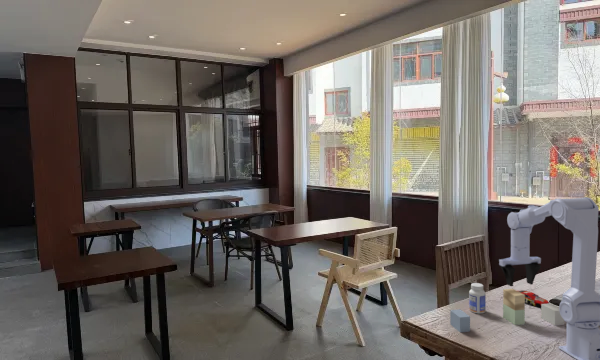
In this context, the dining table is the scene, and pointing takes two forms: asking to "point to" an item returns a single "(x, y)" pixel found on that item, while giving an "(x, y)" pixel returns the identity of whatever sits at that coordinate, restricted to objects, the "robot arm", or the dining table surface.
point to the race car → (533, 299)
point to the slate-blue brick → (460, 320)
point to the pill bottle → (477, 298)
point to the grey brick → (551, 314)
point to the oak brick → (514, 299)
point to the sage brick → (514, 315)
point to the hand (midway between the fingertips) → (519, 284)
